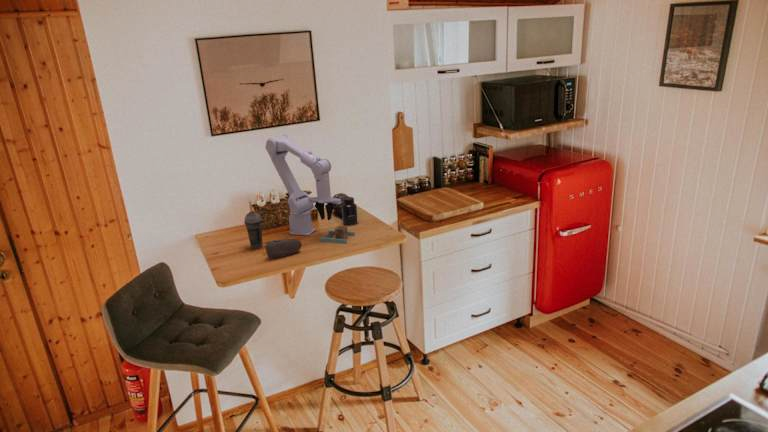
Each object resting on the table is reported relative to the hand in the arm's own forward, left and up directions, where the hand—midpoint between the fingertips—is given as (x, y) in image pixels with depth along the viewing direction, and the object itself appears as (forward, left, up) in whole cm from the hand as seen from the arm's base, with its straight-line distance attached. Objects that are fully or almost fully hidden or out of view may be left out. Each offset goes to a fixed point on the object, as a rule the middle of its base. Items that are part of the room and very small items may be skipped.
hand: (326, 219), depth 225 cm
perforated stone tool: (-9, -21, -9) cm, 25 cm away
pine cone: (-5, +30, -9) cm, 31 cm away
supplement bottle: (+3, +19, -9) cm, 21 cm away
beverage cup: (-25, -16, -9) cm, 31 cm away
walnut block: (+7, 0, -8) cm, 11 cm away
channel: (+5, 0, -8) cm, 10 cm away
